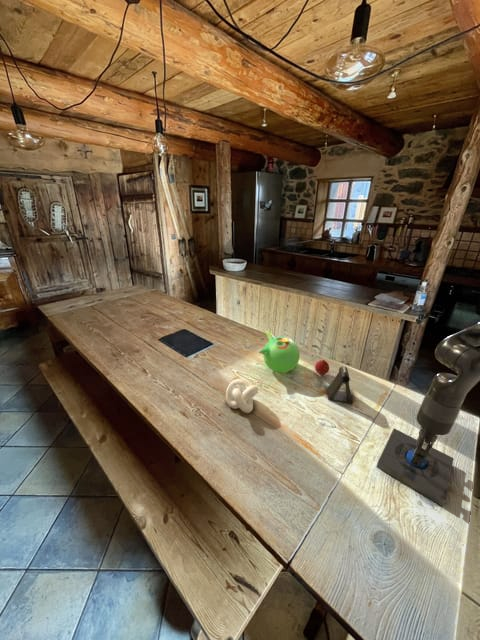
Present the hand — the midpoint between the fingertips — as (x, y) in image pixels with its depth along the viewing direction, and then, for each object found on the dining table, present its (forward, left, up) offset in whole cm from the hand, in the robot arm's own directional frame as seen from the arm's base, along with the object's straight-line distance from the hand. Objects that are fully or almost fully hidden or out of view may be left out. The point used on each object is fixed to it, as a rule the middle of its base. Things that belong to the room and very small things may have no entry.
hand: (418, 454), depth 76 cm
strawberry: (+11, -44, -5) cm, 46 cm away
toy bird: (+28, -51, -5) cm, 58 cm away
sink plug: (0, 0, -5) cm, 5 cm away
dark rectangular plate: (0, 0, -5) cm, 5 cm away
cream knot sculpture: (+48, -29, -5) cm, 56 cm away
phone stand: (+9, -30, -5) cm, 32 cm away
